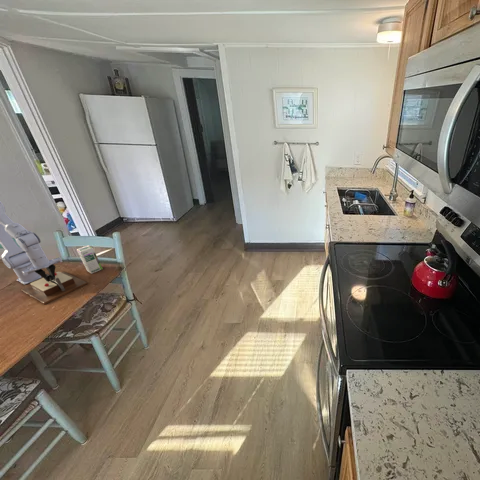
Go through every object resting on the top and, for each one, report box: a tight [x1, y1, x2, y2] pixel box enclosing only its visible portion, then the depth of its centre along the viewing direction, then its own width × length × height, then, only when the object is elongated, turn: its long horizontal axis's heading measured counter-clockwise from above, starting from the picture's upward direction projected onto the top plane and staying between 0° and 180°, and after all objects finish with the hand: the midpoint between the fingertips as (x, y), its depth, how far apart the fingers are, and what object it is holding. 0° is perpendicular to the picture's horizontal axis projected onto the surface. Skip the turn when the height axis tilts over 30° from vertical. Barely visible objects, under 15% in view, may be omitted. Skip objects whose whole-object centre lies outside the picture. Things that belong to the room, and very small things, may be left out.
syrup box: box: [76, 244, 103, 275], centre depth 148 cm, size 6×6×14 cm
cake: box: [29, 271, 75, 296], centre depth 136 cm, size 14×12×5 cm
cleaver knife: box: [46, 273, 60, 289], centre depth 136 cm, size 15×2×6 cm, turn 64°
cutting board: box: [20, 270, 89, 305], centre depth 136 cm, size 24×18×8 cm
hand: (50, 279), depth 135 cm, fingers closed on cleaver knife, 2 cm apart
